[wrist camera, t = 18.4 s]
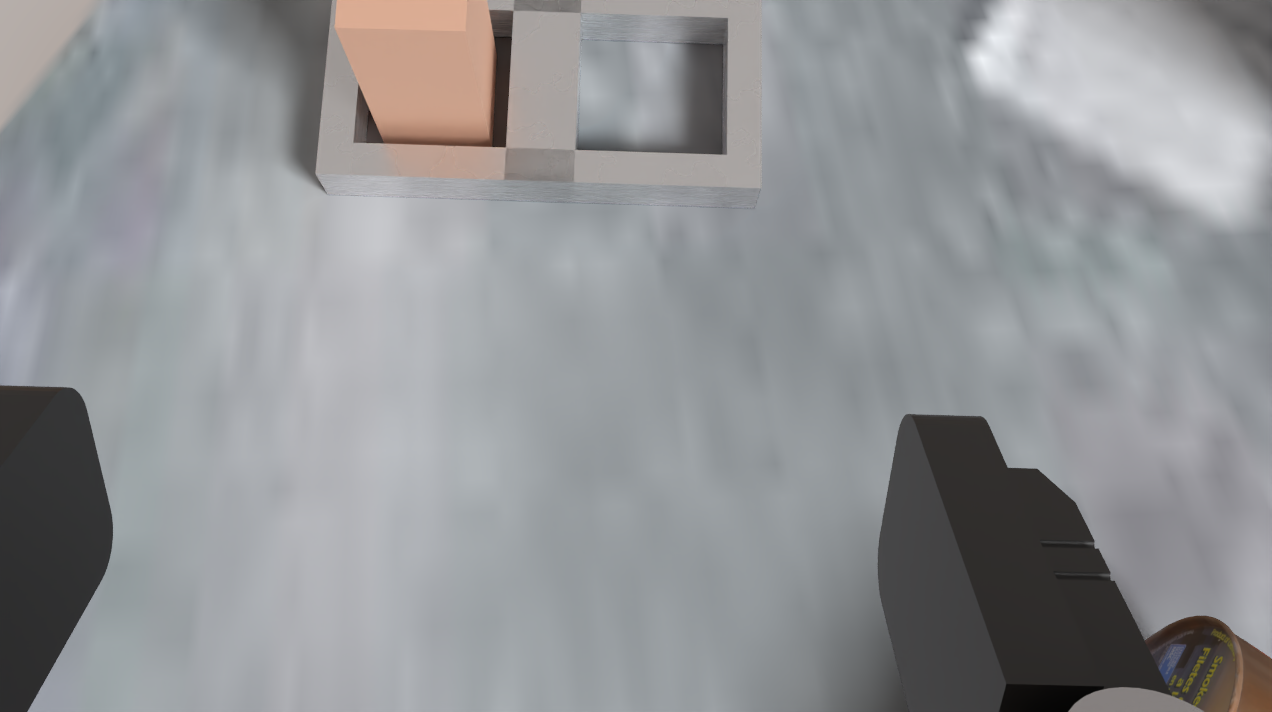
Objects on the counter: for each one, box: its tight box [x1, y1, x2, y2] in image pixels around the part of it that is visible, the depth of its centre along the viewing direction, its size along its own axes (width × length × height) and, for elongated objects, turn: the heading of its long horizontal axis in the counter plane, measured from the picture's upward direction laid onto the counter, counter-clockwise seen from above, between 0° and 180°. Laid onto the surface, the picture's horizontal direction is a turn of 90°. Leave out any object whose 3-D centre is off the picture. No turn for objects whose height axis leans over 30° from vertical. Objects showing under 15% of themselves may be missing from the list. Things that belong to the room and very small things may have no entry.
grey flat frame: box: [315, 0, 761, 208], centre depth 45 cm, size 16×8×2 cm, turn 89°
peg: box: [335, 0, 497, 147], centre depth 42 cm, size 4×4×9 cm
